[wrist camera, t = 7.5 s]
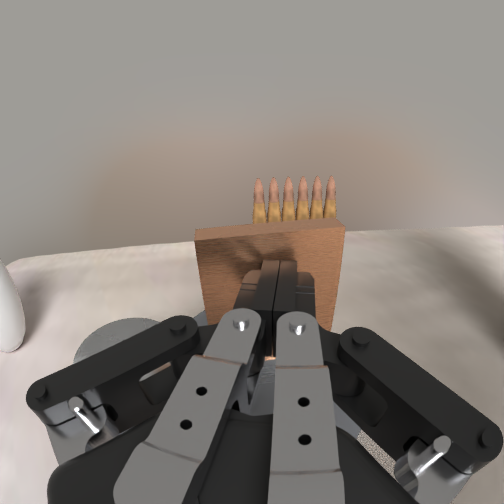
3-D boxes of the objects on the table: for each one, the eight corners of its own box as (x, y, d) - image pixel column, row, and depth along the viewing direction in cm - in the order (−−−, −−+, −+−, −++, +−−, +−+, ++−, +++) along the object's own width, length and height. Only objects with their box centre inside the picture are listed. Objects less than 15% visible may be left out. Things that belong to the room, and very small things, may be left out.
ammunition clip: (254, 274, 35) (250, 180, 30) (253, 267, 37) (249, 176, 31) (334, 266, 36) (341, 177, 31) (329, 260, 38) (335, 174, 32)
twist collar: (81, 421, 12) (-6, 293, 8) (103, 346, 18) (57, 229, 14) (337, 405, 14) (378, 257, 9) (305, 328, 20) (314, 200, 15)
